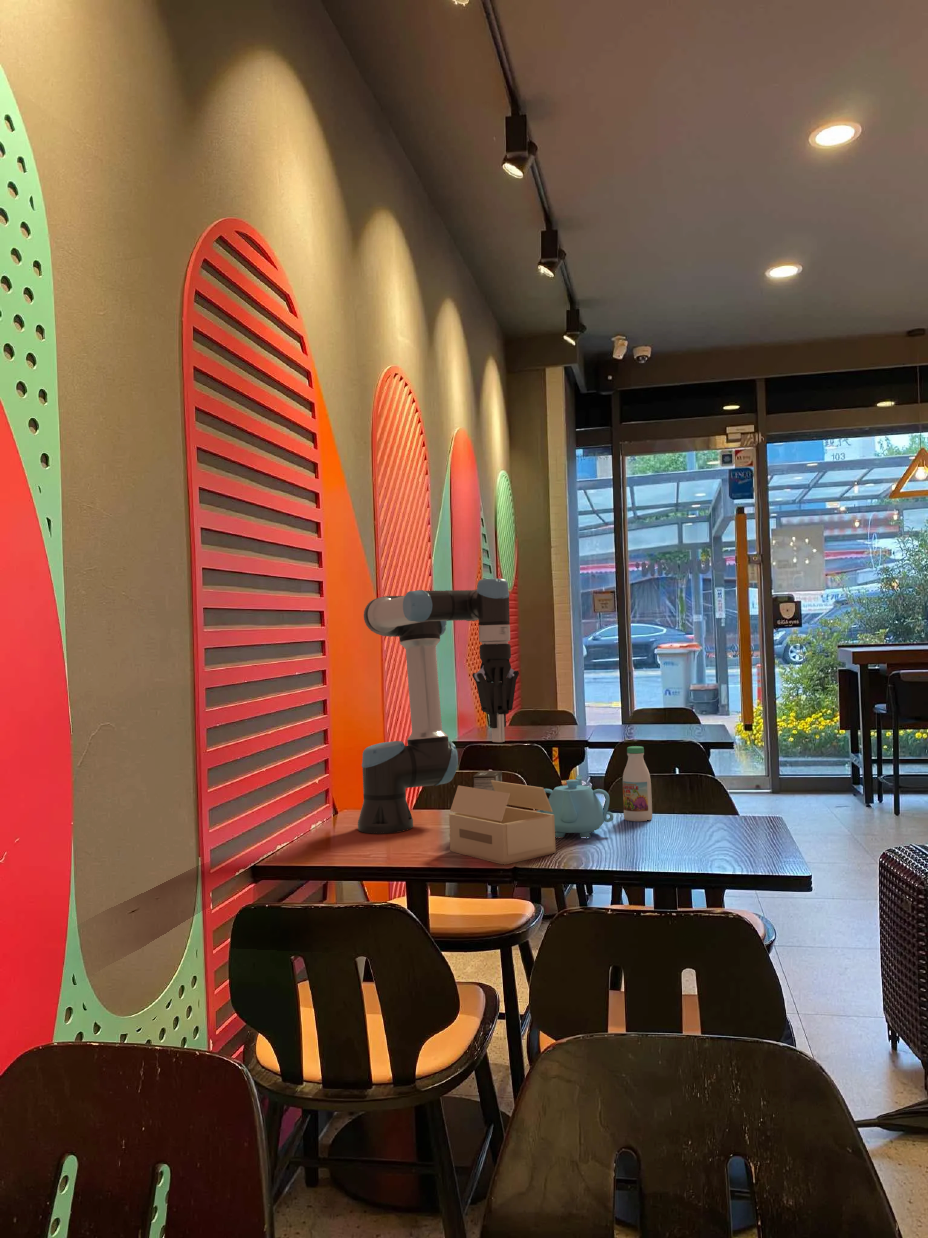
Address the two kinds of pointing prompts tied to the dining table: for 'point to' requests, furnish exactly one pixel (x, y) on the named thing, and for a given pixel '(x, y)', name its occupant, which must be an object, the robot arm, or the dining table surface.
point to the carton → (503, 836)
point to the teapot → (577, 808)
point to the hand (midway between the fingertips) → (498, 741)
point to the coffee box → (486, 779)
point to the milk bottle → (636, 787)
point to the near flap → (480, 802)
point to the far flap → (524, 795)
